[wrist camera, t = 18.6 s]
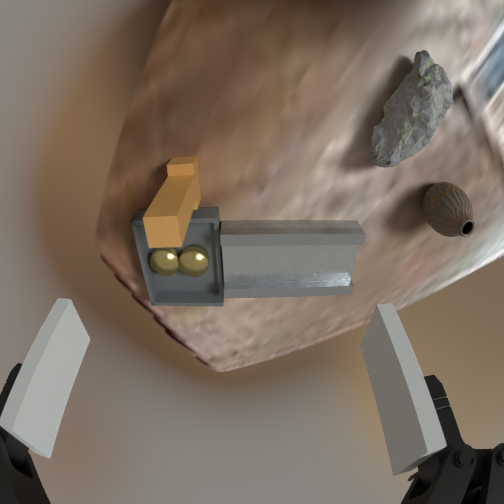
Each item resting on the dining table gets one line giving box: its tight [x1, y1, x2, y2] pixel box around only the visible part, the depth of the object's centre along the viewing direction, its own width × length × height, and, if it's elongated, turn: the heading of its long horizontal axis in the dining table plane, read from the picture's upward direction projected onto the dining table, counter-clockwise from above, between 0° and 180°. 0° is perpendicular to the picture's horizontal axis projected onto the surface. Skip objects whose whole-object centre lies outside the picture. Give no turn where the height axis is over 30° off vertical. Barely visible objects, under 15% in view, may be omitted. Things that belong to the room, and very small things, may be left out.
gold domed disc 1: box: [150, 247, 181, 276], centre depth 41 cm, size 4×4×2 cm
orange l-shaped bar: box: [143, 156, 201, 248], centre depth 31 cm, size 6×3×13 cm, turn 1°
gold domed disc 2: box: [178, 244, 210, 277], centre depth 41 cm, size 4×4×2 cm
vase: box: [422, 182, 474, 237], centre depth 34 cm, size 7×7×9 cm
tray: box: [131, 207, 224, 306], centre depth 41 cm, size 14×11×3 cm
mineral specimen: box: [368, 50, 453, 168], centre depth 29 cm, size 16×7×7 cm, turn 154°
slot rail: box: [220, 220, 365, 298], centre depth 41 cm, size 10×18×4 cm, turn 90°
